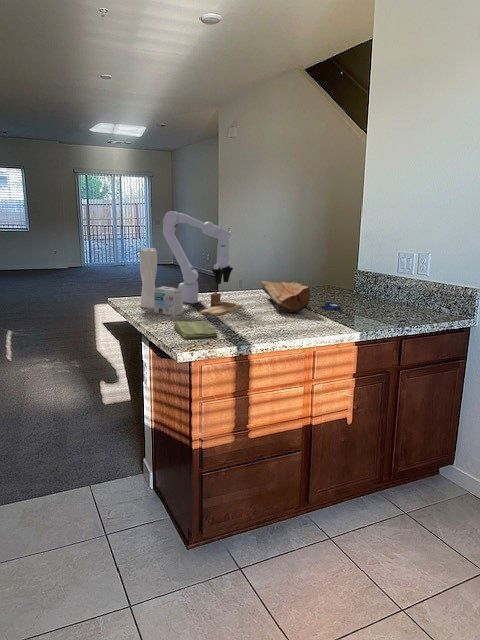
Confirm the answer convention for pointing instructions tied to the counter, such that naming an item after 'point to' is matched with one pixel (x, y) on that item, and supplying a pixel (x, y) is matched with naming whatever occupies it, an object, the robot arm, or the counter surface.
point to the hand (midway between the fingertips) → (222, 282)
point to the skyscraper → (148, 276)
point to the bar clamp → (333, 307)
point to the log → (288, 295)
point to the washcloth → (195, 329)
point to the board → (220, 309)
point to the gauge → (216, 300)
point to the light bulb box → (168, 301)
